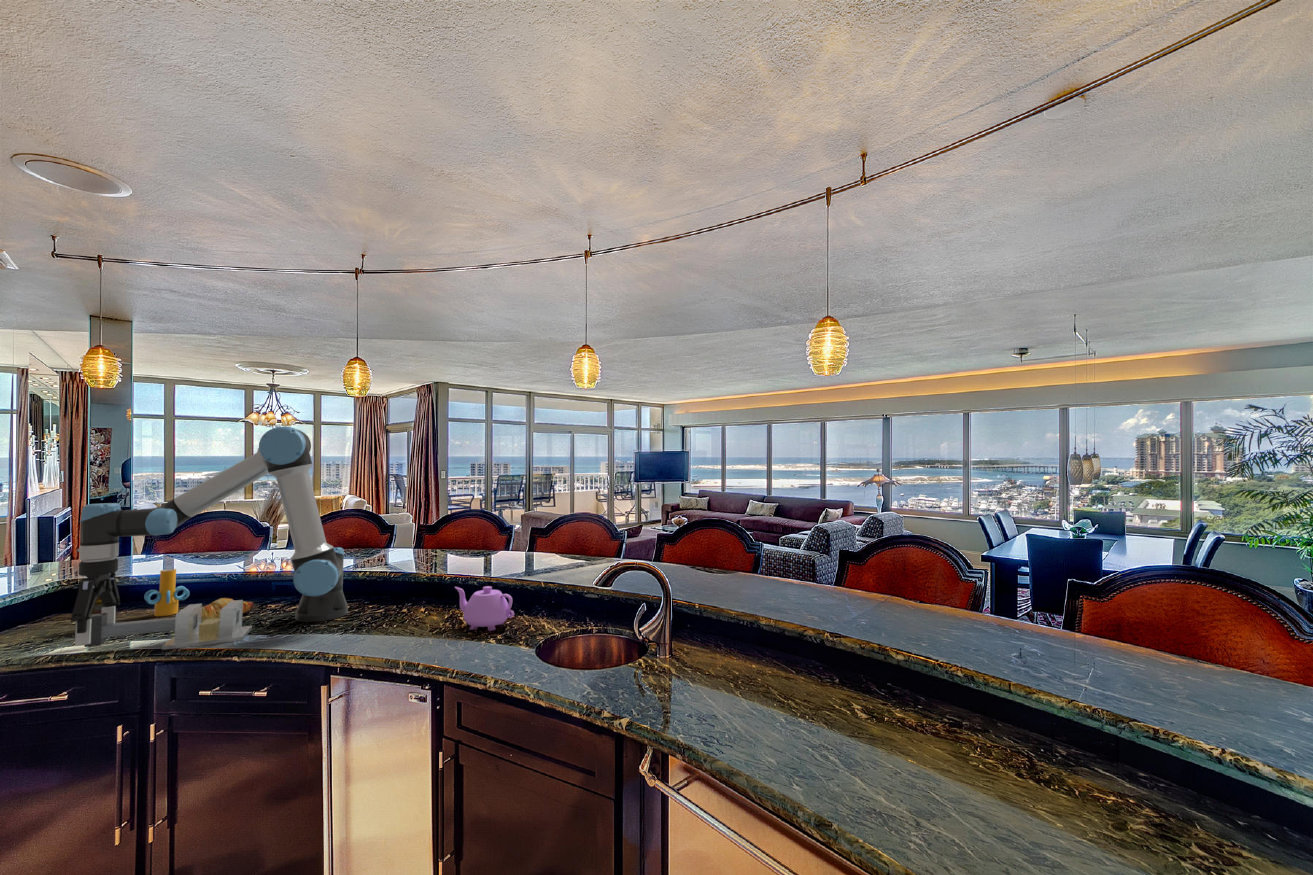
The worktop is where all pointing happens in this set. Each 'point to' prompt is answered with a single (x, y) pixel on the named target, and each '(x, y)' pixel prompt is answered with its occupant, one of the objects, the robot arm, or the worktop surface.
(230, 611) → the frame
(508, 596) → the teapot
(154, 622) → the bar
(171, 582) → the cylinder
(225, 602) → the croissant
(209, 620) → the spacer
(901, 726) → the worktop surface
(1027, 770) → the worktop surface
